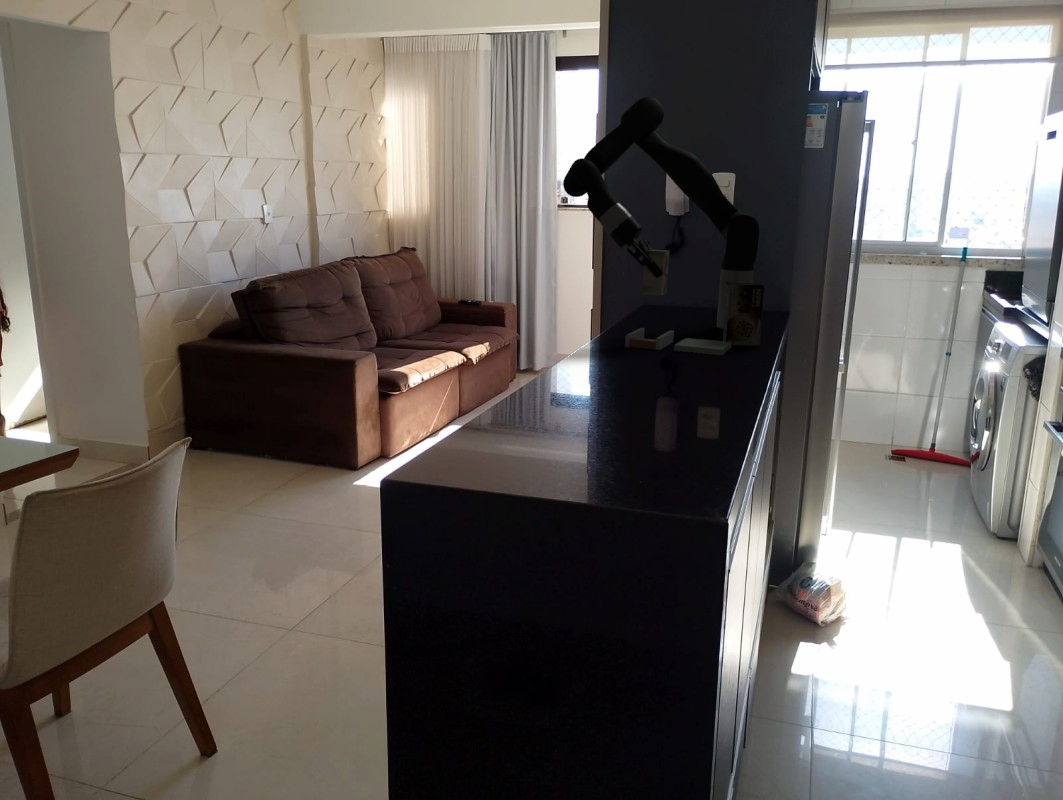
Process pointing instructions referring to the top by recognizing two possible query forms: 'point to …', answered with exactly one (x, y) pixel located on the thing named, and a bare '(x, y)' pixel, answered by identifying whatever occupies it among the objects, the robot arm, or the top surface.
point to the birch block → (650, 281)
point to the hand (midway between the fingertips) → (662, 274)
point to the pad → (703, 346)
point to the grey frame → (648, 340)
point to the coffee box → (743, 313)
